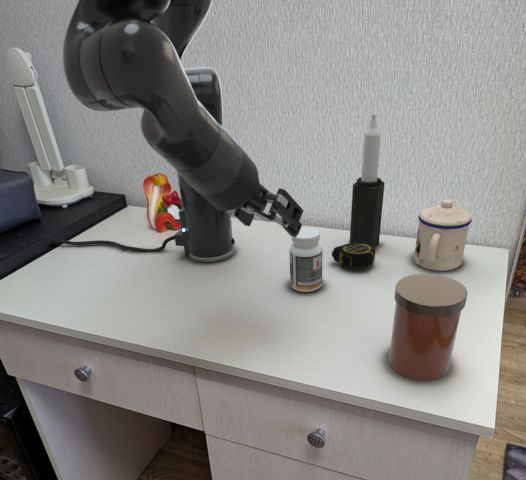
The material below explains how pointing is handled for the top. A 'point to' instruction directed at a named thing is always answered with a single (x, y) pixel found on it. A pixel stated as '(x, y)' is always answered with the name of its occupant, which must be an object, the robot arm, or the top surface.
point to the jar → (425, 325)
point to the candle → (368, 192)
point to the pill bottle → (306, 261)
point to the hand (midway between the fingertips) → (272, 225)
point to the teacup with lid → (441, 236)
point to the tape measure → (354, 255)
